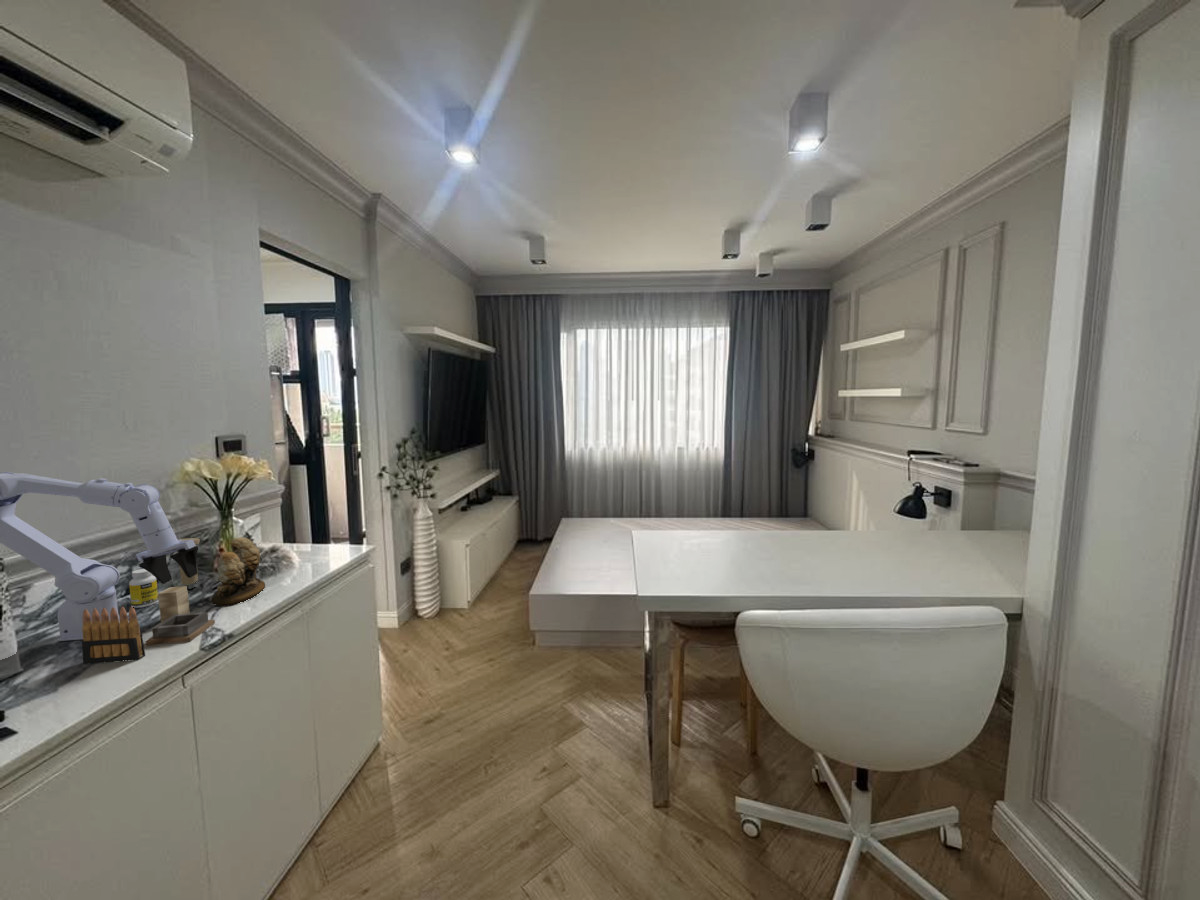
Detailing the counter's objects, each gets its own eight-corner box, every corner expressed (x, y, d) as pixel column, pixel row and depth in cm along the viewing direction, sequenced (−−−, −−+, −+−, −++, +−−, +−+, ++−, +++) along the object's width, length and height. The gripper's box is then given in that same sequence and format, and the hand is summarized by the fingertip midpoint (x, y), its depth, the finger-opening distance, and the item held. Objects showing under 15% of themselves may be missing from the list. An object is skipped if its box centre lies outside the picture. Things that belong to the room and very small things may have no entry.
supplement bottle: (142, 609, 125) (138, 574, 124) (126, 607, 126) (122, 573, 125) (164, 600, 130) (160, 567, 129) (148, 599, 131) (144, 566, 130)
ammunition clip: (82, 664, 99) (76, 611, 97) (91, 659, 101) (84, 607, 99) (138, 660, 100) (132, 607, 99) (145, 655, 102) (140, 604, 101)
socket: (146, 645, 106) (144, 630, 106) (174, 626, 115) (173, 613, 115) (190, 641, 108) (189, 627, 108) (214, 623, 117) (213, 610, 116)
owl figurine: (226, 585, 141) (222, 531, 139) (272, 580, 145) (268, 528, 144) (201, 609, 124) (196, 548, 123) (254, 603, 129) (249, 544, 127)
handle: (195, 591, 137) (190, 542, 135) (172, 592, 136) (167, 543, 134) (207, 584, 141) (203, 537, 140) (185, 585, 141) (180, 538, 139)
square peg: (161, 623, 117) (158, 593, 116) (172, 616, 121) (169, 587, 120) (179, 622, 117) (176, 592, 117) (190, 615, 121) (187, 586, 121)
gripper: (195, 518, 118) (218, 565, 121) (147, 531, 120) (170, 576, 123) (169, 529, 112) (194, 578, 114) (118, 542, 113) (143, 590, 116)
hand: (180, 578), depth 118 cm, fingers open, 7 cm apart
